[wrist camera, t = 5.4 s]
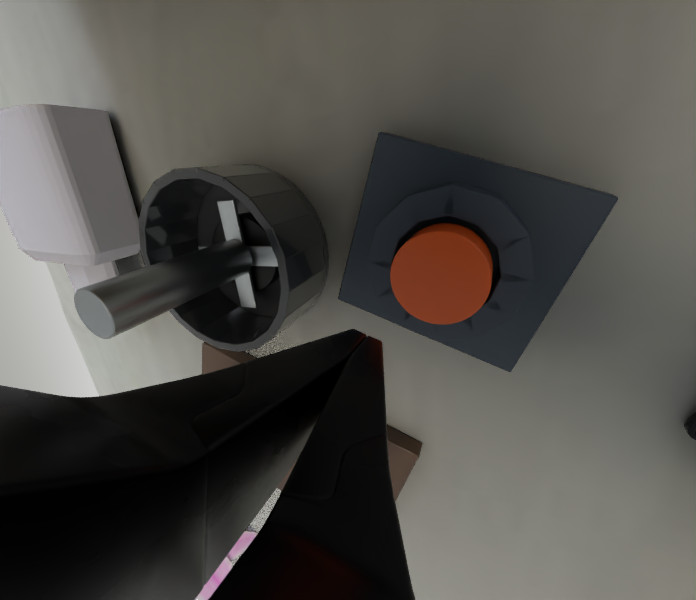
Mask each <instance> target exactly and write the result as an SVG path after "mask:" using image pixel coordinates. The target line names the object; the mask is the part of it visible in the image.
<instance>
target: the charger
mask: <svg viewBox="0 0 696 600" xmlns="http://www.w3.org/2000/svg"><path fill="white" fill-rule="evenodd" d="M0 206H1V209H2V211H3V213H4V216H5V218H6V220H7V222H8V225H9V227H10V229H11V231H12V233H13V236H14V238H15V240H16V243H17V245H18V247H19V249H20V250H22V251H23V252H25V253H26V254H27V255H29V256H30V257H32V258H33V259H35V260H38V261H46V262H54V263H62V264H64V266H65V268H66V271H67V273H68V276H69V278H70V281H71V283H72V286H73V288H74V291H75V293H76V291H77V290H78V289H80V288H82V287H85V286H88V285H91V284H95V283H98V282H101V281H104V280H107V279H110V278H113V277H116V276H119V272H118V269H117V266H116V263H115V260H117V259H121V258H125V257H128V256H132V255H135V254H138V252H139V250H140V239H139V227H138V225H139V220H138V217H137V213H136V210H135V206H134V203H133V199H132V196H131V192H130V189H129V185H128V182H127V178H126V175H125V171H124V168H123V165H122V161H121V158H120V154H119V151H118V147H117V144H116V140H115V137H114V133H113V130H112V126H111V123H110V119H109V116H108V113H107V111H104V110H96V109H86V108H77V107H67V106H57V105H47V104H28V105H18V106H12V107H7V108H2V109H0Z"/></svg>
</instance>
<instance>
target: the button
mask: <svg viewBox="0 0 696 600" xmlns="http://www.w3.org/2000/svg"><path fill="white" fill-rule="evenodd" d="M492 272H493V261H492V256H491V253H490V251H489V248H488V247H487V245H486V243H485V242H484V241H483V239H482V238H481V237H480V236H479V235H478V234H476V233H475V232H474V231H472V230H470V229H469V228H467V227H464V226H462V225H458V224H454V223H438V224H433V225H430V226H427V227H425V228H423V229H421V230H419V231H418V232H417V233H415V234H414V235H413V236H412V237H411V238H410V239H409V240H408V241H407V242H406V243H405V244H404V245H403V246H402V247H401V248H400V249H399V250H398V252H397V253H396V255H395V257H394V259H393V262H392V265H391V271H390V281H391V286H392V290H393V292H394V295H395V297H396V299H397V300H398V302H399V303H400V304H401V306H402V307H403V308H404V309H405V310H406V311H407V312H408V313H410V314H411V315H413V316H414V317H416V318H418V319H420V320H422V321H425V322H428V323H432V324H453V323H457V322H460V321H463V320H465V319H467V318H469V317H471V316H472V315H473V314H475V313H476V312H477V311H478V310H479V309H480V308H481V307H482V306H483V304H484V303H485V301H486V300H487V298H488V295H489V293H490V289H491V283H492Z"/></svg>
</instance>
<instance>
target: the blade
mask: <svg viewBox="0 0 696 600" xmlns="http://www.w3.org/2000/svg"><path fill="white" fill-rule="evenodd" d="M217 204H218V208H219V212H220V217H221V222H220V223H219V224H218V226H217V227H216V229H215V232H214V236H213V245H212V246H198V248H199V250H197V251H194V252H191V253H188V254H185V255H181V256H178V257H175V258H172V259H169V260H166V261H163V262H160V263H157V264H154V265H150V266H147V267H144V268H141V269H138V270H135V271H132V272H129V273H126V274H122V275H119V276H116V277H113V278H110V279H107V280H104V281H101V282H98V283H95V284H91V285H88V286H85V287H82V288H80V289H78V290H77V291H76V293H75V296H74V302H75V307H76V310H77V312H78V314H79V316H80V318H81V320H82V321H83V323H84V324H85V325H86V327H87V328H88V329H89V330H90V331H91V332H92V333H94V334H95V335H96V336H98V337H100V338H103V339H109V338H112V337H114V336H116V335H118V334H120V333H122V332H125V331H127V330H129V329H131V328H133V327H135V326H137V325H139V324H141V323H144V322H146V321H148V320H150V319H152V318H154V317H156V316H158V315H160V314H162V313H165V312H167V311H169V310H171V309H173V308H175V307H177V306H179V305H181V304H184V303H186V302H188V301H190V300H192V299H194V298H196V297H198V296H200V295H202V294H205V293H207V292H209V291H211V290H213V289H215V288H217V287H219V286H221V285H224V284H226V283H228V282H232V283H233V284H234V285H236V286H237V290H238V294H239V298H240V302H241V306H242V307H251V308H257V307H258V303H257V298H256V293H255V291H259V290H262V289H264V288H266V287H267V286H269V285H271V284H273V283H274V282H275V281H277V280H278V278H279V277H280V276H279V269H278V263H277V259H276V256H275V254H274V252H273V249H272V247H271V245H270V242H269V240H268V238H267V235H266V233H265V231H264V229H263V228H262V227H261V225H260V224H259V223H258V221H257V220H256V219H255V217H254V216H253V215H252V214H251V213H241V214H239V213H238V209H237V204H236V200H224V201H217Z"/></svg>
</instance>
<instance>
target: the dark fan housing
mask: <svg viewBox="0 0 696 600" xmlns="http://www.w3.org/2000/svg"><path fill="white" fill-rule="evenodd" d="M224 200H236V204H237V209H238V213H239V214H241V213H251V214H252V215H253V216H254V217H255V219H256V220H257V221H258V223H259V224H260V225H261V227H262V228H263V229H264V231H265V233H266V235H267V238H268V240H269V242H270V245H271V247H272V249H273V252H274V254H275V256H276V259H277V263H278V269H279V276H280V277H279V278H278V280H277V281H275V282H274V283H273V284H271V285H269V286H267V287H266V288H264V289H262V290H259V291H255V293H256V298H257V303H258V307H257V308H251V307H242V306H241V302H240V298H239V294H238V290H237V286H236V285H234V284H233V283H232V282H228V283H226V284H224V285H221V286H219V287H217V288H215V289H213V290H211V291H209V292H207V293H205V294H202V295H200V296H198V297H196V298H194V299H192V300H190V301H188V302H186V303H184V304H181V305H179V306H177V307H175V308H173V309H171V310H169V311H170V312H171V313H172V315H173V316H174V317H175V318H176V320H178V322H179V323H181V324H182V325H183V326H184V327H185V328H186V329H188V330H189V331H190V332H191V333H192V334H193V335H195V336H196V337H197V338H199V339H201V340H203V341H205V342H207V343H209V344H211V345H213V346H215V347H217V348H221V349H226V350H231V351H236V352H240V351H246V350H252V349H257V348H259V347H261V346H262V345H264V344H265V343H267V342H268V341H269V340H271V339H272V338H274V337H275V336H276V335H278V334H279V333H280V332H281V331H282V330H284V329H285V328H286V327H287V326H289V325H290V324H291V323H292V322H294V321H295V320H296V319H297V318H298V317H300V316H301V315H302V314H303V313H305V312H306V311H307V310H308V309H309V308H310V307H311V306H312V305H313V304H314V303H315V301H316V300H317V298H318V297H319V295H320V294H321V292H322V289H323V287H324V284H325V281H326V278H327V271H328V247H327V242H326V237H325V233H324V230H323V227H322V224H321V222H320V220H319V218H318V216H317V213H316V212H315V210H314V208H313V207H312V205H311V203H310V202H309V201H308V199H307V198H306V197H305V195H304V194H303V193H302V192H301V191H300V190H299V189H298V188H297V187H296V186H295V185H294V184H293V183H292V182H290V181H289V180H288V179H286V178H285V177H283V176H282V175H280V174H278V173H277V172H275V171H272V170H270V169H268V168H264V167H260V166H254V165H232V166H212V167H194V168H181V169H173V170H171V171H170V172H168V173H166V174H165V175H163V176H162V177H160V178H159V179H157V180H156V181H155V182H154V183H153V184H152V186H151V188H150V189H149V191H148V193H147V194H146V196H145V198H144V199H143V202H142V207H141V213H140V218H139V225H138V227H139V239H140V250H141V254H142V257H143V260H144V264H145V267H147V266H150V265H154V264H157V263H160V262H163V261H166V260H169V259H172V258H175V257H178V256H181V255H185V254H188V253H191V252H194V251H197V250H199V248H198V246H212V245H213V236H214V232H215V229H216V227H217V226H218V224H219V223H220V222H221V217H220V212H219V208H218V204H217V201H224Z"/></svg>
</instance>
